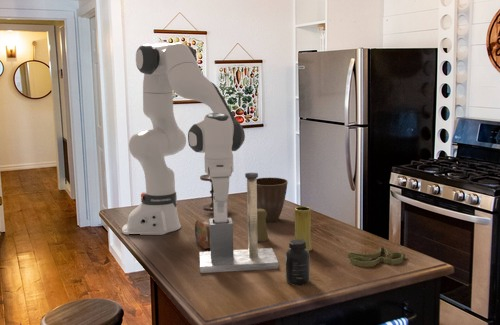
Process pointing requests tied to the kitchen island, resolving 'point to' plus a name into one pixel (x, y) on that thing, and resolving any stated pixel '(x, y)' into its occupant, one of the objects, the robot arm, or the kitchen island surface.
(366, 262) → the cookie cutter
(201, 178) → the candlestick
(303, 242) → the supplement bottle
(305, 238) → the vase
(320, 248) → the kitchen island surface
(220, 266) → the stand
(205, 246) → the tin
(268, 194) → the plant pot
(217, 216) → the column
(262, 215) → the olive waisted cylinder
